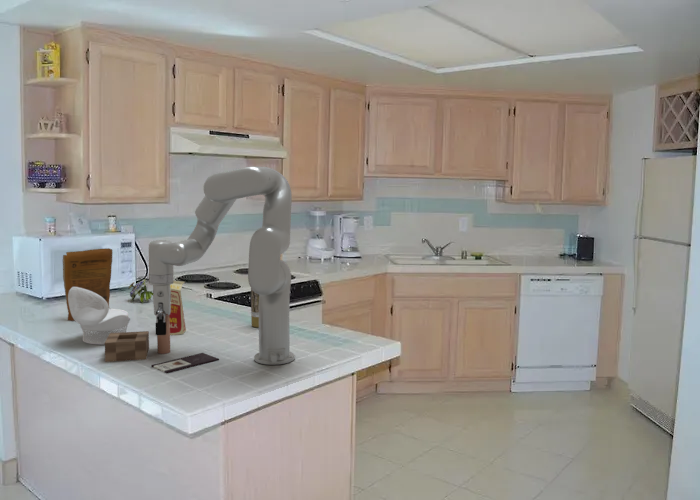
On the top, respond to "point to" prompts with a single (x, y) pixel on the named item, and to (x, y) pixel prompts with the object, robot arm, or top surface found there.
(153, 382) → the top surface
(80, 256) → the pancake mix bag
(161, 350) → the peg
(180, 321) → the milk carton
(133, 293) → the passion flower
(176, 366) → the chocolate bar
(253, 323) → the paper tube
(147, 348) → the socket block
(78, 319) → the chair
